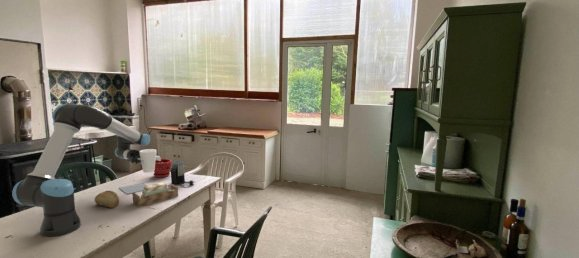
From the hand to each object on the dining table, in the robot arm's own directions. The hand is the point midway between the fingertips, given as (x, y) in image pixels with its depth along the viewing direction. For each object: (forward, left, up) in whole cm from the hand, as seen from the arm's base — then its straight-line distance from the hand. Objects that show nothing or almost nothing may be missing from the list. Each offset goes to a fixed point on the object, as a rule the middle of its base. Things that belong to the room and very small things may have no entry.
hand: (152, 160), depth 176 cm
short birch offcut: (-1, -5, -17) cm, 18 cm away
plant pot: (+22, +38, -24) cm, 50 cm away
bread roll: (-24, +6, -24) cm, 34 cm away
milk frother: (+25, +11, -24) cm, 36 cm away
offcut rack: (-1, -5, -23) cm, 24 cm away
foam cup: (-1, +4, -8) cm, 9 cm away
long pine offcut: (-1, -5, -22) cm, 22 cm away
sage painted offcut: (-1, -5, -19) cm, 20 cm away
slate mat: (-3, +23, -23) cm, 33 cm away
